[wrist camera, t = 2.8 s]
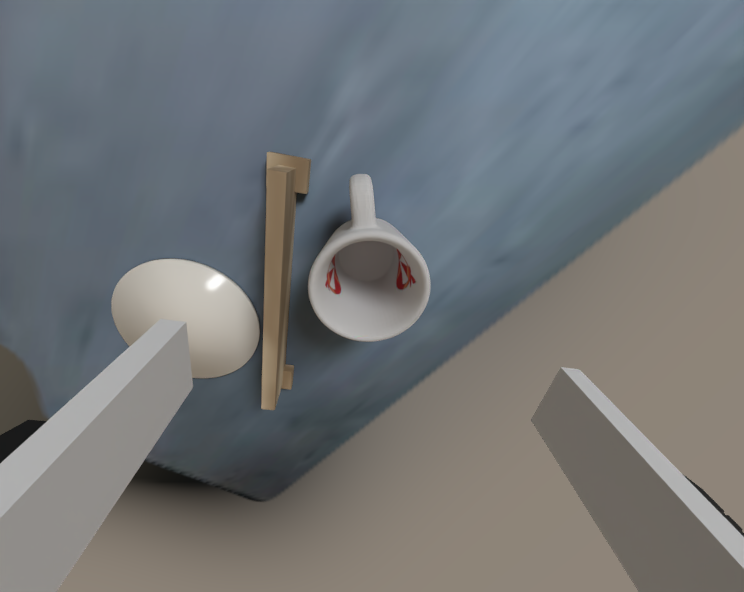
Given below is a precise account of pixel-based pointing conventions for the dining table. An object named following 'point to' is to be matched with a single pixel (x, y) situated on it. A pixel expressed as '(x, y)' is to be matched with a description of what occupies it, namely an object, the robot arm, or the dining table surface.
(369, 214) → the cup
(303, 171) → the rail
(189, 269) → the coaster
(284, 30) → the dining table surface
